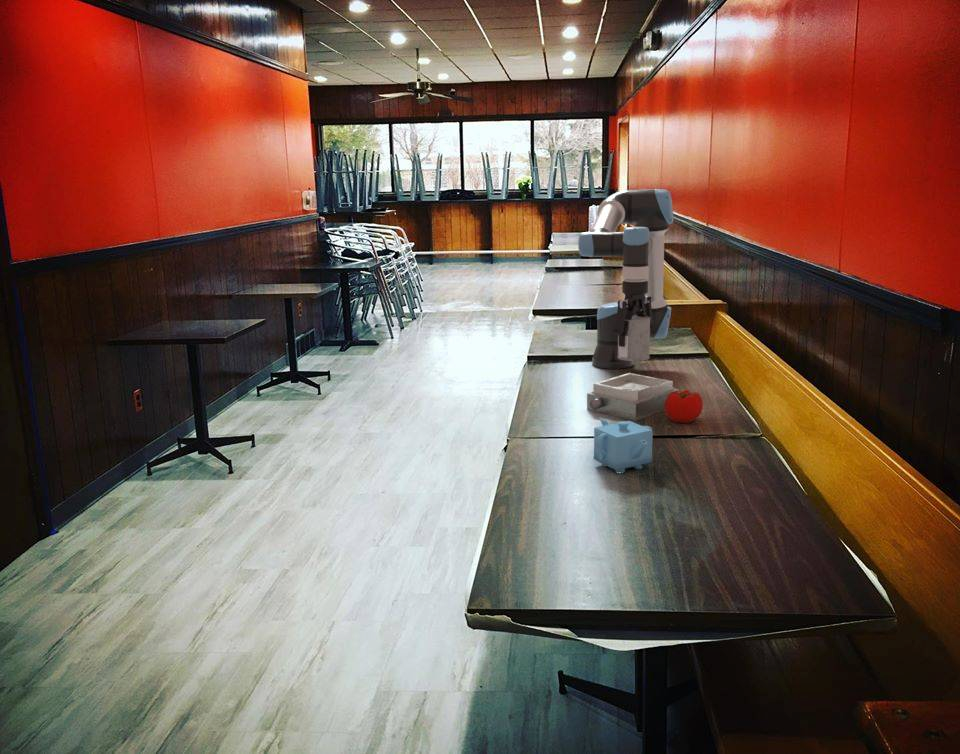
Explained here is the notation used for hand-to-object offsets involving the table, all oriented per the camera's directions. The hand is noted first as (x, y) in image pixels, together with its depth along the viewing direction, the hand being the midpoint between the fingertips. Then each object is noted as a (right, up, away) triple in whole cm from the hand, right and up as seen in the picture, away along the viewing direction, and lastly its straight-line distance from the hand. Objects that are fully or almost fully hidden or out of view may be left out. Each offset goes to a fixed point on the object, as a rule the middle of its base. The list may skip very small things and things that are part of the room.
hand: (633, 354), depth 241 cm
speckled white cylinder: (0, -1, 0) cm, 1 cm away
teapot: (-11, -29, -44) cm, 54 cm away
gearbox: (-1, -16, +3) cm, 17 cm away
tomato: (+12, -20, -11) cm, 25 cm away
